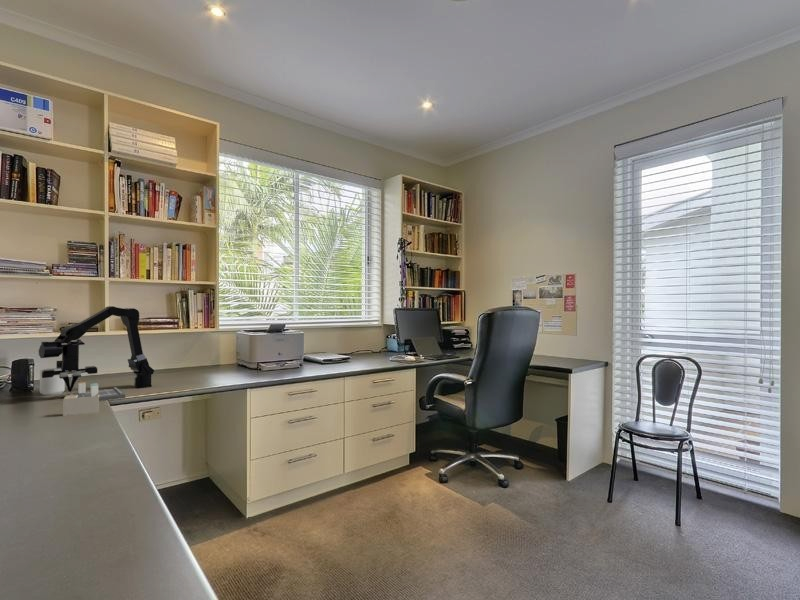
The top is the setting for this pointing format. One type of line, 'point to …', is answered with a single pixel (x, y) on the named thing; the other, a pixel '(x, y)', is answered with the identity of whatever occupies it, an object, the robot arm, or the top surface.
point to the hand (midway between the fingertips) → (69, 391)
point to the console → (103, 394)
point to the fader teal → (94, 389)
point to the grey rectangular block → (81, 387)
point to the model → (80, 405)
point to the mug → (51, 384)
